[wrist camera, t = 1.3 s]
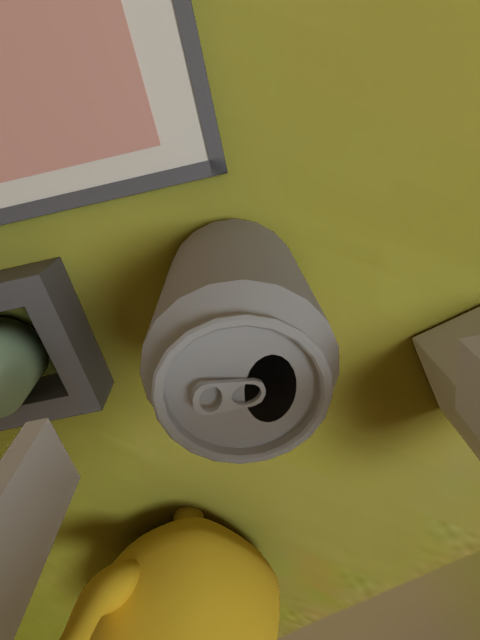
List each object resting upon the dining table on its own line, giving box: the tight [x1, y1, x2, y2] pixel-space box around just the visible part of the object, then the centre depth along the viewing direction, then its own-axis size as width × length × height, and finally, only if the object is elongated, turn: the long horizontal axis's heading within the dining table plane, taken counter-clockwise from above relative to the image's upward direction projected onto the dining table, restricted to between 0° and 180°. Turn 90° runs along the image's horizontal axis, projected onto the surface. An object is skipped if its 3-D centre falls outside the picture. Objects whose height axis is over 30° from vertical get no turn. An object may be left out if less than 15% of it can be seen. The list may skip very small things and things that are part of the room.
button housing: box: [0, 257, 114, 431], centre depth 24 cm, size 9×9×3 cm
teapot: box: [59, 506, 280, 640], centre depth 29 cm, size 14×20×13 cm
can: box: [140, 219, 339, 464], centre depth 19 cm, size 8×8×12 cm
